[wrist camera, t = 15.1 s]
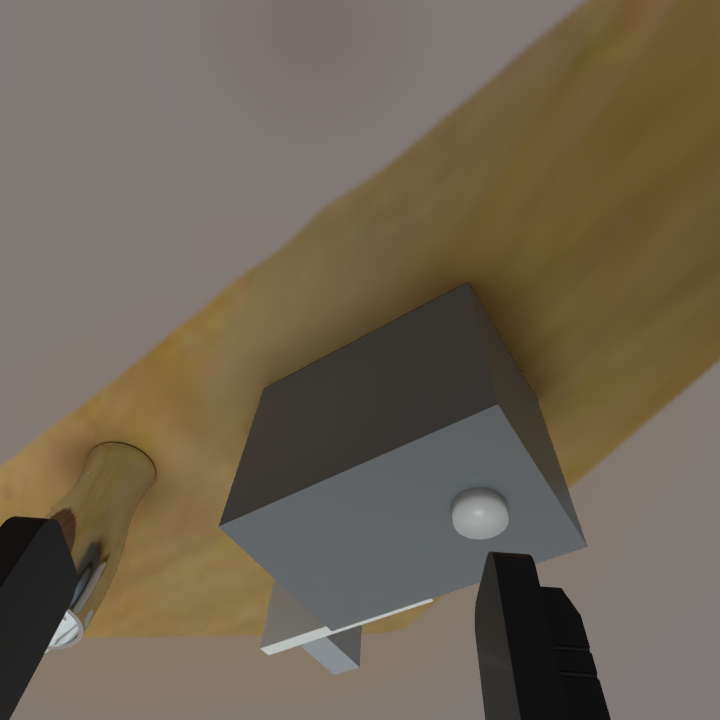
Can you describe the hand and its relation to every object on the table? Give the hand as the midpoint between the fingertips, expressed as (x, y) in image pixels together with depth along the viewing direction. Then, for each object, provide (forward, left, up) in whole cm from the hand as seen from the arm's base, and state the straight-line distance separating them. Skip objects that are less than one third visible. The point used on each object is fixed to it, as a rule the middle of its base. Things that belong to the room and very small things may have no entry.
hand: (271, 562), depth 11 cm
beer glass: (+20, +28, -30) cm, 46 cm away
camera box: (-3, +19, -30) cm, 35 cm away
